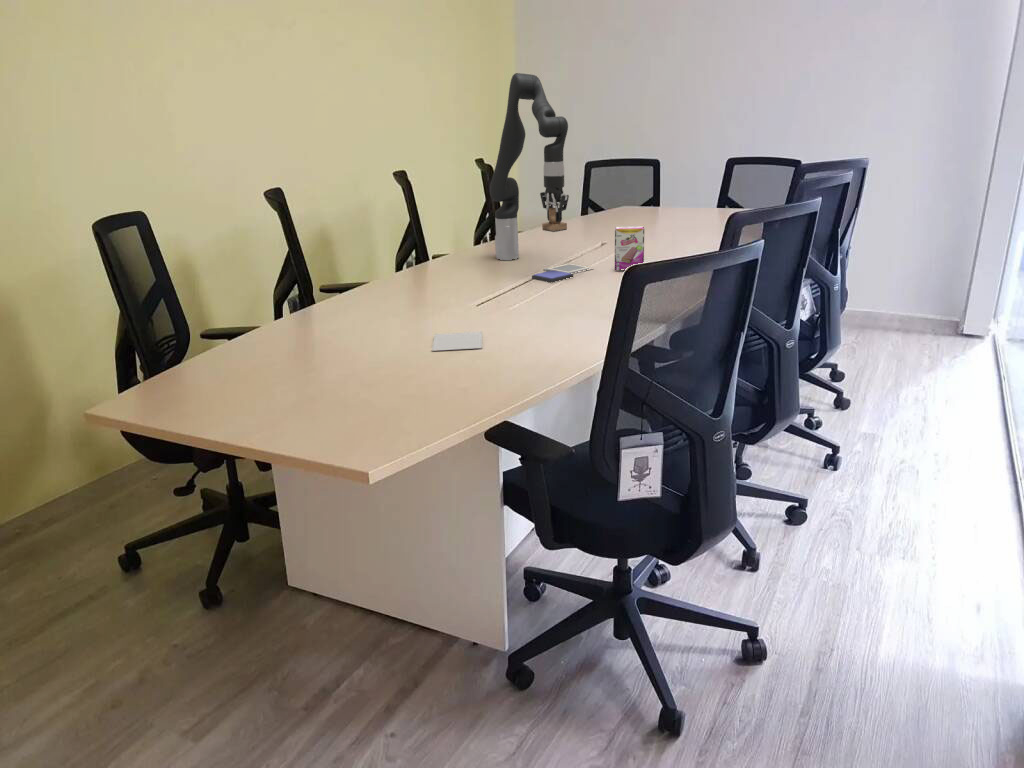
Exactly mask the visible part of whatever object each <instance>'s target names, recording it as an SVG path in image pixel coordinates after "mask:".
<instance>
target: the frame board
mask: <svg viewBox="0 0 1024 768" xmlns="http://www.w3.org/2000/svg"><path fill="white" fill-rule="evenodd" d="M575 264H576V263H575ZM575 264H574V263H570V262H569V263H564V264H560V265H554V266H551V267H550V266H549V267H547V268H543V269H542V271H543V270H546V271H545V272H548V271H552V270H555V271H560V272H565V273H575V272H578V271H583V270H587V269H589V268H590V267H591V266H588V267H586V265H582V264H581V265H580V264H576V265H575Z"/></svg>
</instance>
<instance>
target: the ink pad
mask: <svg viewBox="0 0 1024 768" xmlns="http://www.w3.org/2000/svg"><path fill="white" fill-rule="evenodd" d="M570 277H573V278H574V274H571V273H565V272H560V271H555V270H552V271H544V272H539V273H535V274H533V275H531V279H533V280H537V281H541V282H546V281H547V283H551V282H552V283H556V282H555V281H557V282H560V281H559V280H561V281H564V280H563V279H565V280H567V279H566V278H569V279H571V278H570Z"/></svg>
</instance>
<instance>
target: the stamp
mask: <svg viewBox="0 0 1024 768" xmlns="http://www.w3.org/2000/svg"><path fill="white" fill-rule="evenodd" d="M541 227H542V231H544V232H552V233H557V232H563V231H567V229H568V223H567V222H562V221H561V222H556V208H555V207H553V208H549V221H548V222H543V223H541Z"/></svg>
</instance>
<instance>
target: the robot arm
mask: <svg viewBox="0 0 1024 768" xmlns="http://www.w3.org/2000/svg"><path fill="white" fill-rule="evenodd" d="M507 98H508V99H507V106H506V107H507V108H506V112H505V113H506V114H505V117H504V118H505V120H504V122H503V123H504V124H503V128H502V134H501V137H500V138H501V139H500V143H499V150H498V154H497V159H496V164H495V167H494V171H493V174H492V178H491V181H490V185H489V195H490V198H491V199H492V201H493V202H496V203H500V202H501V206H500V207H499V208H498V209H496V210H495V212H494V217H495V218H494V220H495V222H494V223H495V236H494V246H495V247H494V248H495V259H497V260H498V259H500V260H499V261H513V260H512V259H515V260H518V259H519V258H520V253H519V252H520V250H519V248H520V247H519V226H518V225H519V224H518V212H519V208H520V207H519V206H520V205H519V204H520V203H519V202H520V201H519V200H520V189H519V188H520V187H519V184H518V182H517V180H516V179H515V178H513V177H509V174H510V171H511V169H512V167H513V165H514V164H515V162H516V161H517V160H518V159H519V157H520V155H521V154H522V152H523V149H524V144H525V140H526V129H525V127H524V123H523V121H522V119H521V116H520V113H519V101H520V100H526V101H527V100H528V101H530V100H531V101H533V102H532V103H531V112H532V115H533V116H534V118H535V119H536V121H537V126H538V133H539V135H540V136H541V137H543V138H546V139H547V138H555V139H554V140H555V141H553V142H552V143H549V144H546V145H545V146H544V147H543V188H545V190H544V191H543V192H542V191H541V192H540V193H539V195H540V199H541V204H542V208H543V209H545V210H546V212H547V214H546V215H547V216H546V218H547V221H548V222H549V208H556V222H562V220H563V214H562V213H563V211H566V210H567V207H568V202H569V197H570V196H569V194H565V193H564V190H563V188H565V164H564V163H565V162H564V148H565V143H566V138H567V135H568V131H569V123H568V120H567V119H566V117H564V116H556V112H555V110H554V109H553V107H552V105H551V104H550V103H549V100H548V99H547V96H546V93H545V90H544V87H543V84H542V82H541V80H540V78H539V77H538V76H537V75H535V74H532V73H531V74H528V73H520V72H515V73H514V74H512V77H511V78H510V83H509V88H508V97H507ZM517 258H518V259H517Z"/></svg>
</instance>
